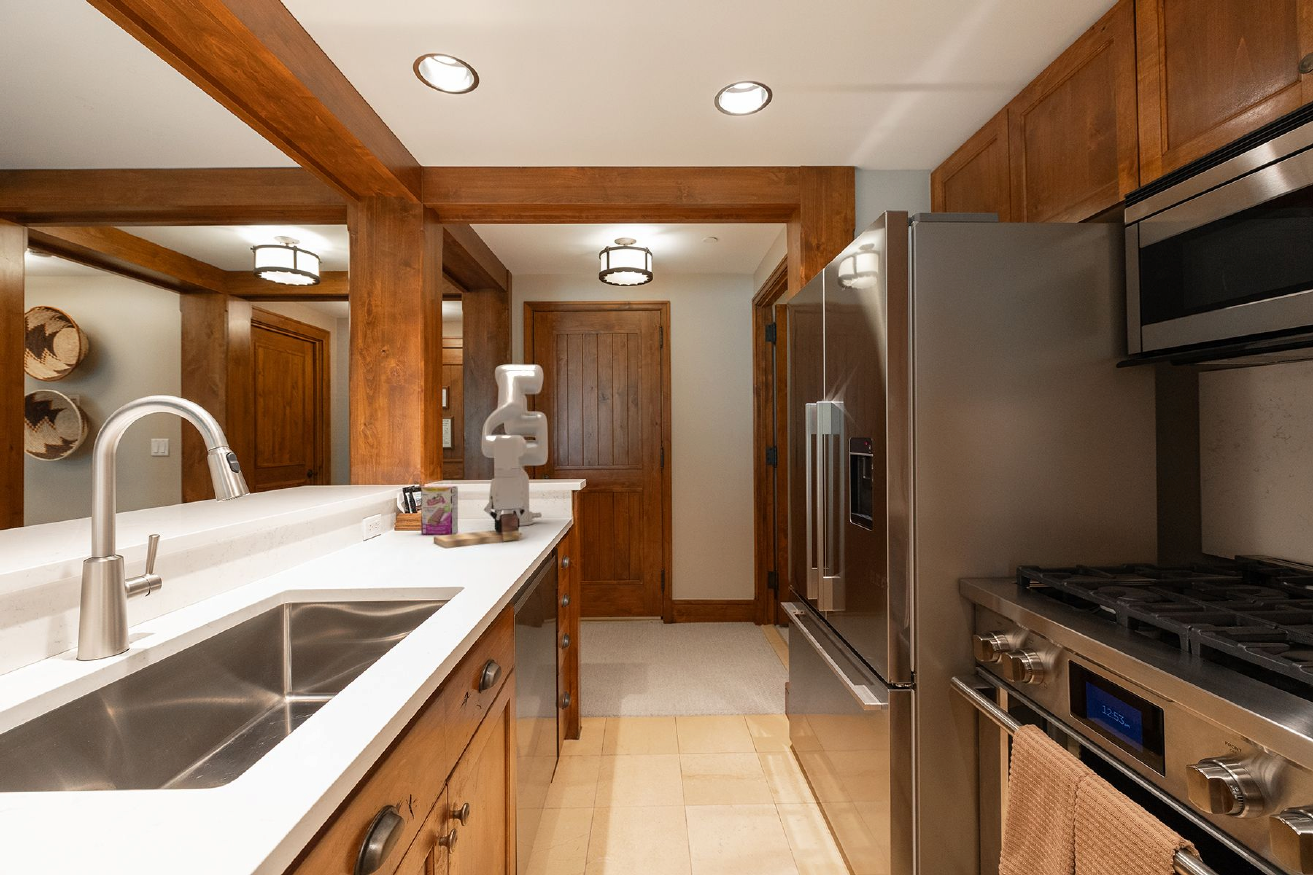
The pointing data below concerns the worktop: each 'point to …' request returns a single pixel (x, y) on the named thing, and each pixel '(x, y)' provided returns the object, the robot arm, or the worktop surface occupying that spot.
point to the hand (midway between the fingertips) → (507, 530)
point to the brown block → (509, 526)
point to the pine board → (470, 539)
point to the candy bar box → (439, 510)
